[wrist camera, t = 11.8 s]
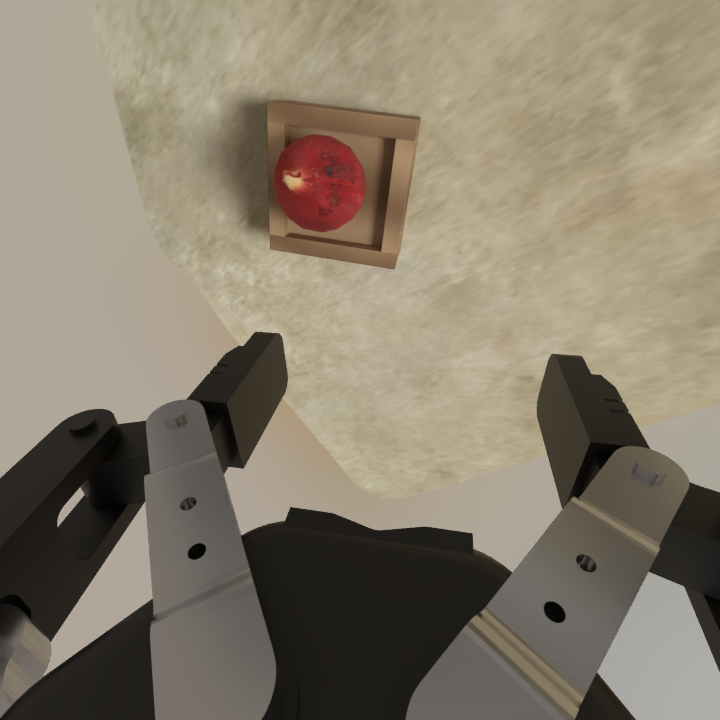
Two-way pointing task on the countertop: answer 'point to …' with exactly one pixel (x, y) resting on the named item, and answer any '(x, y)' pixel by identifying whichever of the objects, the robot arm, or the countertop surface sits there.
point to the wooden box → (381, 170)
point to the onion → (319, 183)
